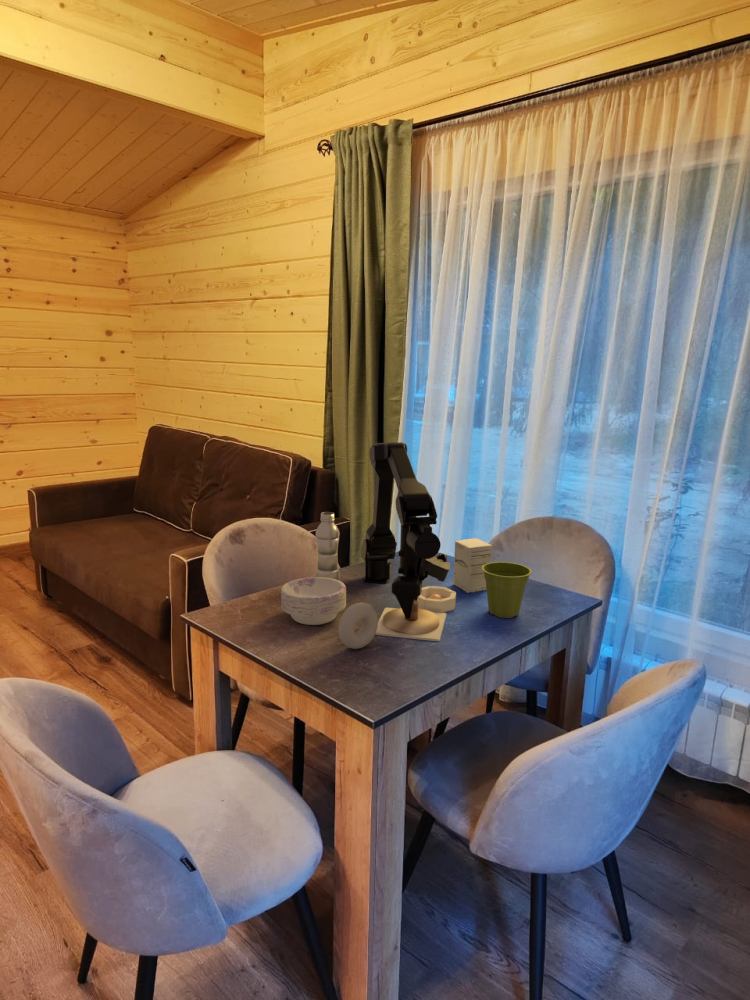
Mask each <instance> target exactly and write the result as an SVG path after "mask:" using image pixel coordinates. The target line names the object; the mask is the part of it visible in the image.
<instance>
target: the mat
mask: <svg viewBox="0 0 750 1000" xmlns="http://www.w3.org/2000/svg"><path fill="white" fill-rule="evenodd" d="M394 609H397V608H396V607H395V608H394V607H384V609H383V611H382V614H381V615H380V617H379V618H378V627H377V631H376V633H375V635H374V636H385V637H392V638H393V637H394V638H402V639H403V638H404V639H413V640H421V641H432V642H440V640H441V637H442V633H443V629H444V627H445V626H444V625H445V623H446V622H445V621H446V619H447V612H443V613H439V612H433V613H435V614H436V615H437V616H438V617H439V626H438V628H437V629H435V630H434V631H431V632H428V633H424V634H403V633H398V632H395V631H392V630H390V629H388V628H387V627H385V626H384V624H383V616H384V615H385V614H386V613H387V612H389V611H391V610H394Z"/></svg>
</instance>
